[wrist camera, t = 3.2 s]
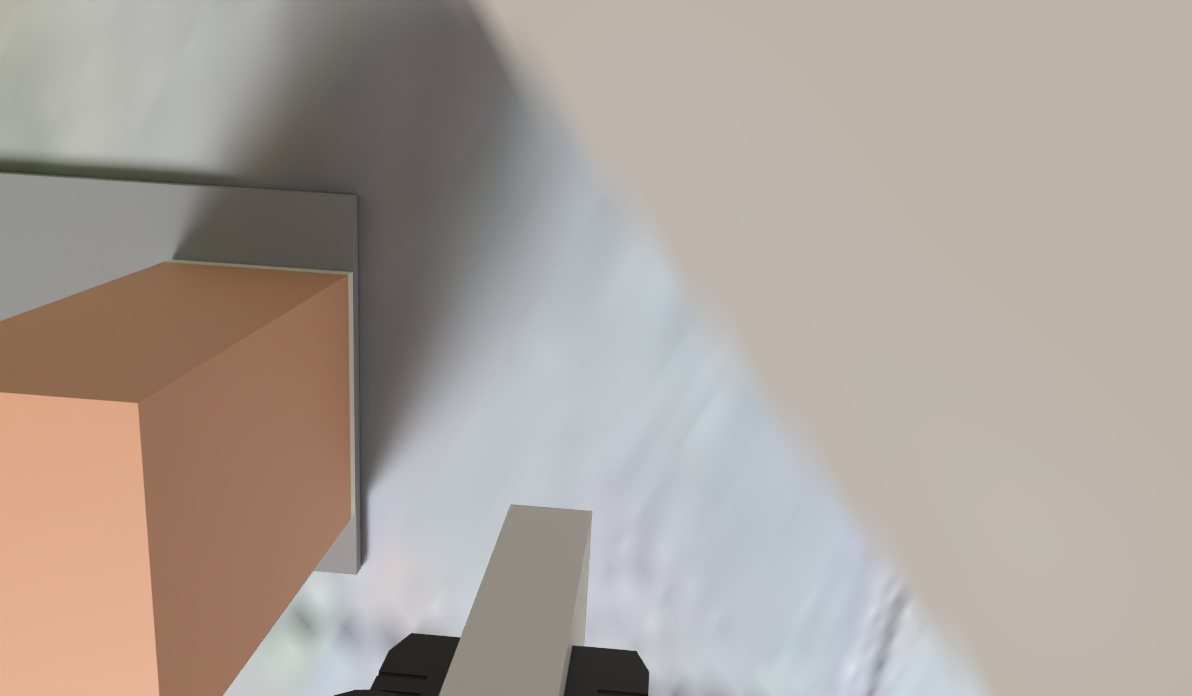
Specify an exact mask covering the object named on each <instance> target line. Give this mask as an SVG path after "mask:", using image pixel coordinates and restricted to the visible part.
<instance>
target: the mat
mask: <svg viewBox="0 0 1192 696" xmlns="http://www.w3.org/2000/svg"><path fill="white" fill-rule="evenodd" d="M170 259H175V260H189V261H203V262H217V263H232V264H246V265H260V266H274V267H289V268H303V269H317V270H331V271H346V272H353V327H354V419H355V511H356V513H355V514H354V515H353V517H352V518H351V519H350V521H349V522H348V524H347V525H346V526H345V528H344V529H343V530H342V532H341V533H340V535H339V536H338V537H337V539H336V540H335V541H334V543H333V544H332V546H331V547H330V548H329V550H328V551H327V552H326V554H325V555H324V557H323V558H322V559H321V561H320V562H319V563H318V565H317V566H316V568H315V569H314V570H313V571H322V572H333V573H344V574H356V575H357V573H358V572H359V570H360V569H361V528H360V422H359V316H358V210H357V195H352V194H337V193H321V192H306V191H291V190H276V189H260V188H245V187H230V186H215V185H200V184H184V183H169V182H154V181H139V180H124V179H108V178H93V177H78V176H63V175H47V174H32V173H17V172H2V171H0V321H2V320H4V319H7V318H10V317H13V316H15V315H18V314H21V313H24V312H27V311H29V310H32V309H35V308H38V307H40V306H43V305H46V304H49V303H51V302H54V301H57V300H60V299H62V298H65V297H68V296H71V295H73V294H76V293H79V292H82V291H84V290H87V289H90V288H93V287H96V286H98V285H101V284H104V283H107V282H109V281H112V280H115V279H118V278H120V277H123V276H126V275H129V274H131V273H134V272H137V271H140V270H142V269H145V268H148V267H151V266H154V265H156V264H159V263H162V262H165V261H167V260H170Z"/></svg>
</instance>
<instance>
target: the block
mask: <svg viewBox="0 0 1192 696" xmlns="http://www.w3.org/2000/svg"><path fill="white" fill-rule="evenodd" d="M355 513H356V511H355V419H354V327H353V272H346V271H331V270H317V269H303V268H289V267H274V266H260V265H246V264H232V263H217V262H203V261H189V260H175V259H170V260H167V261H165V262H162V263H159V264H156V265H154V266H151V267H148V268H145V269H142V270H140V271H137V272H134V273H131V274H129V275H126V276H123V277H120V278H118V279H115V280H112V281H109V282H107V283H104V284H101V285H98V286H96V287H93V288H90V289H87V290H84V291H82V292H79V293H76V294H73V295H71V296H68V297H65V298H62V299H60V300H57V301H54V302H51V303H49V304H46V305H43V306H40V307H38V308H35V309H32V310H29V311H27V312H24V313H21V314H18V315H15V316H13V317H10V318H7V319H4V320H2V321H0V696H223V694H224V693H225V692H226V690H227V689H228V688H229V686H230V685H231V683H232V682H233V681H234V679H235V678H236V677H237V675H238V674H239V672H240V671H241V670H242V668H243V667H244V665H245V664H246V663H247V661H248V660H249V659H250V657H251V656H252V654H253V653H254V652H255V650H256V649H257V648H258V646H259V645H260V643H261V642H262V641H263V639H264V638H265V637H266V635H267V634H268V632H269V631H270V630H271V628H272V627H273V626H274V624H275V623H276V621H277V620H278V619H279V617H280V616H281V614H282V613H283V612H284V610H285V609H286V608H287V606H288V605H289V603H290V602H291V601H292V599H293V598H294V597H295V595H296V594H297V592H298V591H299V590H300V588H301V587H302V586H303V584H304V583H305V581H306V580H307V579H308V577H309V576H310V575H311V573H312V572H313V570H314V569H315V568H316V566H317V565H318V563H319V562H320V561H321V559H322V558H323V557H324V555H325V554H326V552H327V551H328V550H329V548H330V547H331V546H332V544H333V543H334V541H335V540H336V539H337V537H338V536H339V535H340V533H341V532H342V530H343V529H344V528H345V526H346V525H347V524H348V522H349V521H350V519H351V518H352V517H353V515H354V514H355Z"/></svg>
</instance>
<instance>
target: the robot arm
mask: <svg viewBox="0 0 1192 696" xmlns="http://www.w3.org/2000/svg"><path fill="white" fill-rule="evenodd" d="M591 521H592V511H585V510H572V509H560V508H548V507H536V506H524V505H512V504H511V505H510V508H509V511H508V513H507V516H506V519H505V521H504V524H503V526H502V529H501V532H500V534H499V537H498V540H497V542H496V545H495V548H494V550H493V553H492V556H491V558H490V561H489V564H488V566H487V569H486V572H485V574H484V577H483V580H482V582H481V585H480V588H479V590H478V593H477V596H476V598H475V601H474V604H473V606H472V609H471V611H470V614H469V617H468V619H467V622H466V625H465V627H464V630H463V633H462V635H461V638H459V637H448V636H437V635H426V634H415V633H411V634H410V635H408V636H407V637H406V638H405V639H403V640H402V641H401V642H400V643H398V644H397V645H396V646H394V647H393V648H392V649H391V650H389V652H388V654H387V656H386V658H385V660H384V662H383V664H382V666H381V668H380V670H379V675H378V676H376V679H375V681H374V683H373V685H372V687H371V689H370V690H353V691H350V692H346V693H342V694H338V695H335V696H648V685H649V671H648V669H647V668H646V666H645V665H644V663H643V661H642V660H641V658H640V656H639V655H638V653H637V651H629V650H618V649H607V648H596V647H585V646H584V639H585V622H586V605H587V589H588V572H589V555H590V538H591Z"/></svg>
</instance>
